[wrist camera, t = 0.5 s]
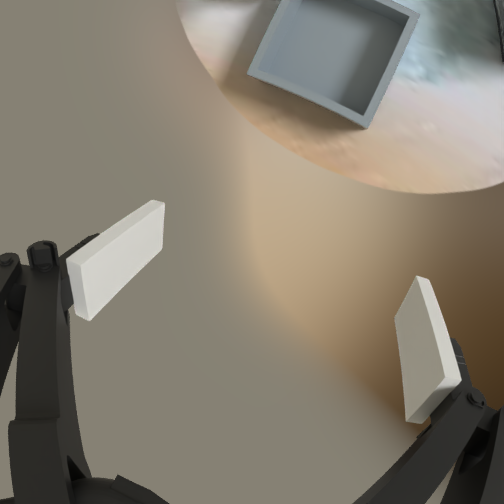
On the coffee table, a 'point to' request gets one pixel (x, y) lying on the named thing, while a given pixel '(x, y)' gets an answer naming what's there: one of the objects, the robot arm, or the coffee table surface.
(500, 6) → the small box
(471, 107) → the coffee table surface
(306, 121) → the coffee table surface
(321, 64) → the tray
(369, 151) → the coffee table surface
